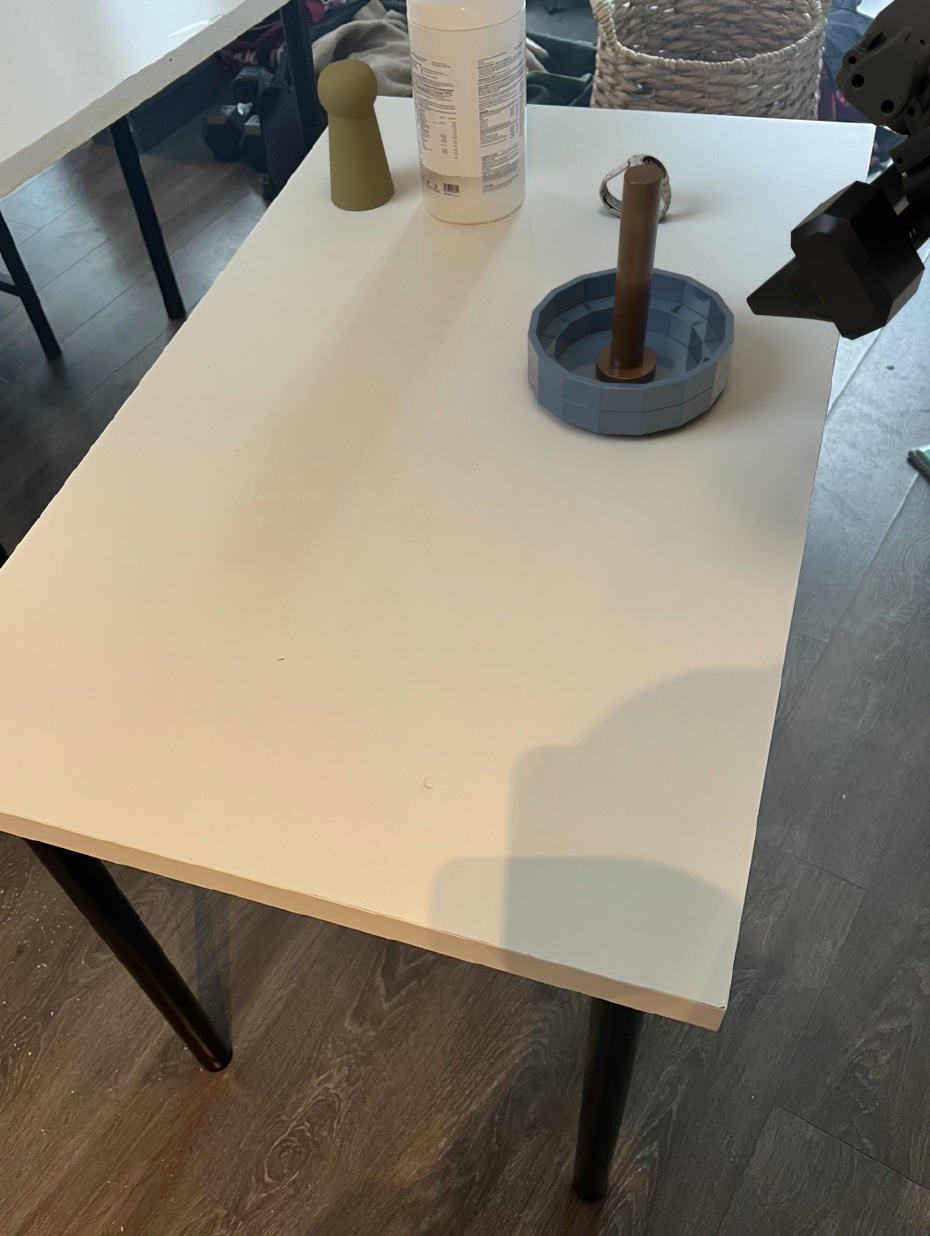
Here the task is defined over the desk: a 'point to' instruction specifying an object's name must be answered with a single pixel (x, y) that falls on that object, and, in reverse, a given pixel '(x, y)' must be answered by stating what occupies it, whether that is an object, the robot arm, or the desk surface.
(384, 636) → the desk surface
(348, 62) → the olive pawn
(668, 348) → the bowl
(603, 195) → the wristwatch
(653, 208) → the brown cylinder with base
